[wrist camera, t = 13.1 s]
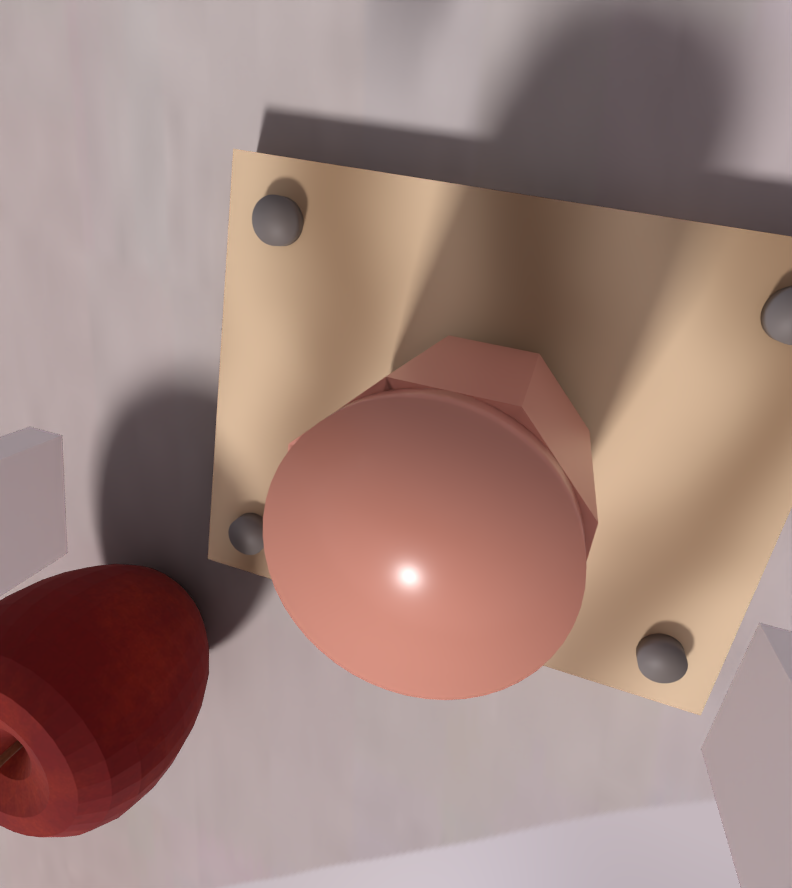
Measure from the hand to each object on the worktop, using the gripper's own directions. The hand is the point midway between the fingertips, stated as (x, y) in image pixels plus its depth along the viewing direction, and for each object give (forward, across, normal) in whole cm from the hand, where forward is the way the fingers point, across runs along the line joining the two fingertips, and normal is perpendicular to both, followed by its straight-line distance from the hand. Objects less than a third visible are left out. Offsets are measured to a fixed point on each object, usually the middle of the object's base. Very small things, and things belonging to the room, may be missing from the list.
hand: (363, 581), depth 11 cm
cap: (+10, +1, 0) cm, 10 cm away
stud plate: (+12, +1, 0) cm, 12 cm away
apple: (+12, -12, -14) cm, 22 cm away
